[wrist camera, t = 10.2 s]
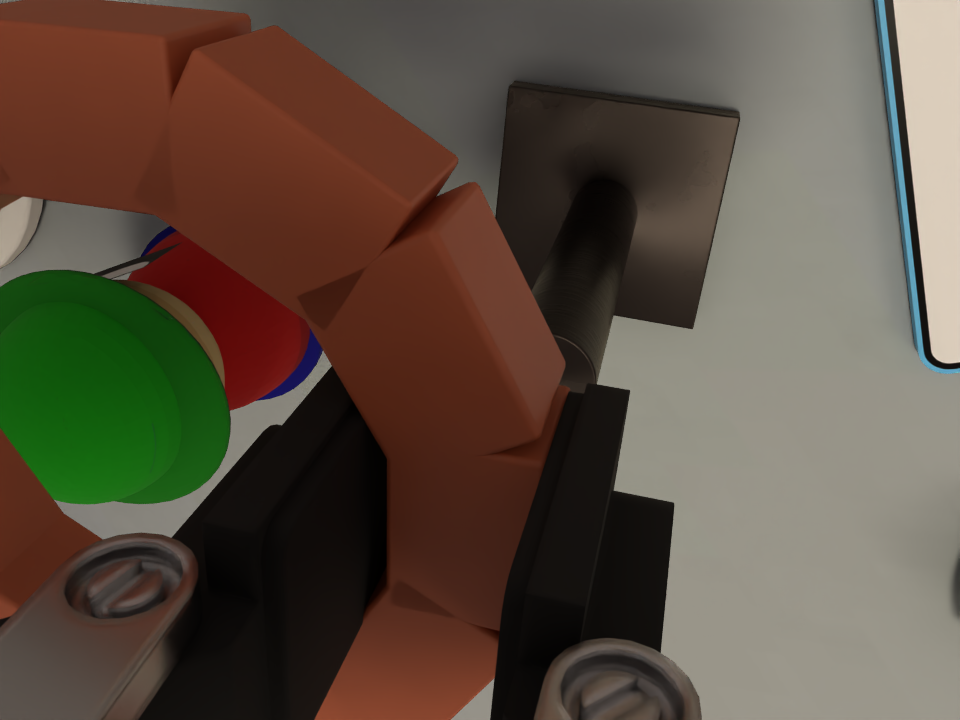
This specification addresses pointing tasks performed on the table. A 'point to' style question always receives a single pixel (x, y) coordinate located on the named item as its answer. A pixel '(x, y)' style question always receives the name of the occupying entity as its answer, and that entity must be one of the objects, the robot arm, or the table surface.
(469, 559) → the ring
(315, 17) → the table surface
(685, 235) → the post
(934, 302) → the smartphone
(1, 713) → the robot arm
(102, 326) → the toy
